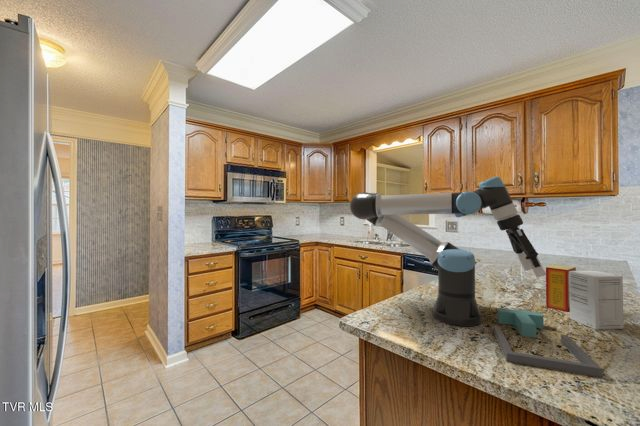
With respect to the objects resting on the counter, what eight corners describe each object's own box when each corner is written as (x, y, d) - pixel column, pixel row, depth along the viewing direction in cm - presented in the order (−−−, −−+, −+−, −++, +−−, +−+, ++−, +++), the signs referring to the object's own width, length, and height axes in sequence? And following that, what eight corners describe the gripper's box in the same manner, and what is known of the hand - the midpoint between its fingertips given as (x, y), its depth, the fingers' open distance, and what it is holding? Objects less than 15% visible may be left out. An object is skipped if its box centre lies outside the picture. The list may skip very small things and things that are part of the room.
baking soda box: (555, 302, 114) (554, 263, 114) (576, 307, 109) (575, 266, 109) (546, 307, 109) (545, 266, 109) (567, 312, 103) (567, 269, 103)
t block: (505, 333, 85) (504, 320, 85) (497, 319, 97) (497, 307, 97) (554, 340, 81) (553, 326, 81) (539, 324, 92) (539, 312, 92)
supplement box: (595, 318, 97) (594, 270, 97) (625, 329, 88) (624, 275, 88) (568, 318, 97) (568, 270, 97) (595, 329, 88) (595, 276, 88)
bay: (506, 361, 69) (506, 353, 69) (493, 332, 86) (493, 325, 86) (602, 377, 62) (602, 368, 62) (567, 342, 79) (567, 335, 79)
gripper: (528, 212, 90) (561, 275, 86) (510, 214, 113) (535, 264, 109) (503, 221, 92) (534, 283, 89) (490, 221, 115) (514, 270, 112)
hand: (534, 272), depth 99 cm, fingers open, 13 cm apart
